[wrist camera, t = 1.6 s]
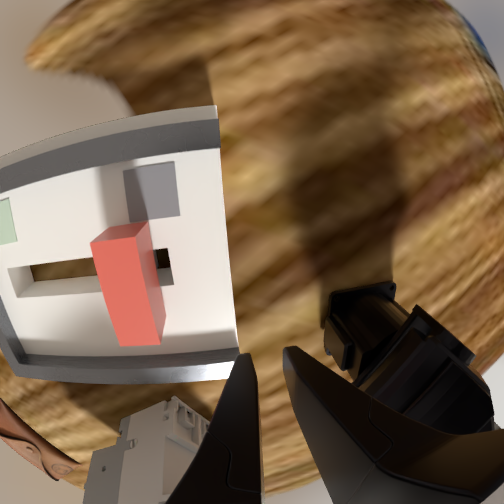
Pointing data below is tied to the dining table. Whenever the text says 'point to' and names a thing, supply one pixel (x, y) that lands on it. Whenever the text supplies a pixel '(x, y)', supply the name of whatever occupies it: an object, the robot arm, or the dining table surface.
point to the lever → (130, 283)
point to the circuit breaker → (146, 456)
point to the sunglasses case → (33, 445)
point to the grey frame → (113, 367)
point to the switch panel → (114, 214)
